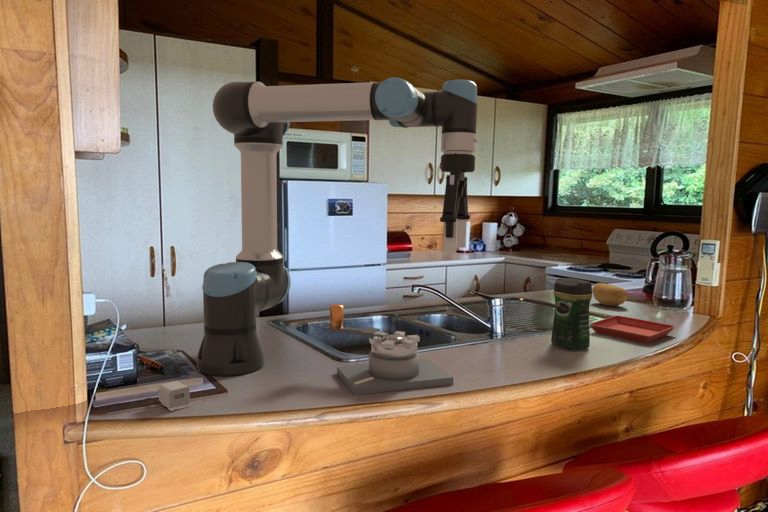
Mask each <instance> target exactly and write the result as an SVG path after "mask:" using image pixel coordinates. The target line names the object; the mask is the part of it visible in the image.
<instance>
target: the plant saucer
mask: <svg viewBox="0 0 768 512" xmlns="http://www.w3.org/2000/svg"><path fill="white" fill-rule="evenodd" d="M589 327H590V329H592V330H593V331H594V333H596V334H599V335H604V336H607V335H608V337H613V338H617V337H618V338H617V339H621V338H622V340H626V339H627V341H632V342H636V343H640V342H641V344H648V343H651V342H653V341H655V340H658V339H661V338H663V337H665V336H667V335H668V334H670V333H671V332H672V331H673V330H674V329H675V327H676V326H675V325H671V324H667V323H666V324H665V323H661V322H655V321H651V320H650V321H649V320H645V319H639V318H633V317H627V316H622V315H614V316H610V317H606V318H604V319H603V318H602V319H600V320H597V321H594V322H589Z"/></svg>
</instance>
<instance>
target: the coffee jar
mask: <svg viewBox="0 0 768 512" xmlns="http://www.w3.org/2000/svg"><path fill="white" fill-rule="evenodd" d="M553 287H554V288H553V296H554V313H553V322H552V330H551V337H550V338H551V340H550V343H551V344H552V345H553V346H556V347H558V348H561V349H564V348H565V350H569V351H584V350H587V349H588V348H590V346H591V345H590V344H591V343H590V342H591V341H590V339H591V338H590V336H591V335H590V325H589V324H590V305H591V304H590V303H591V300H592V298H593V292H592V288H593V285H592V282H590V281H588V280H584V279H583V280H582V279H578V278H573V277H570V278H569V277H562V278H561V277H559V278H557V279H556V280H555V282H554V286H553Z"/></svg>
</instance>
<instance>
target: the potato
mask: <svg viewBox="0 0 768 512" xmlns="http://www.w3.org/2000/svg"><path fill="white" fill-rule="evenodd" d="M592 296H593V297H594V298H593V299H595V300H596V301H597V302H598V303H600V304H601V305H603V306H606V307H607V306H608V307H610V306H612V307H618V306H620V305H623V304H624V303H625V302H626V301H627V300H628V296H629V295H628V291H626V289H624V288H623V287H621V286H617V285H613V284H608V283H605V282H604V283H603V282H598V283H595V284H594V285H592Z"/></svg>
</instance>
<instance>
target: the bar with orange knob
mask: <svg viewBox="0 0 768 512" xmlns="http://www.w3.org/2000/svg"><path fill="white" fill-rule="evenodd" d="M324 333H334V334H335V333H336V334H348V335H353V336H354V335H355V336H357V335H358V336H360V337H362V338H368V341H369V343H370V345H371V351H370V352H371V353H372V355H374V356H376V357H379V358H383V359H391V360H401V359H409V358H412V357H415V356H416V355H417V352H418V342H419V343H420V342H421V340H420V339H421V337H420V336H419V335H418V334H411V335H410V334H409V335H406V331H400V330H396V331H395V332H394V333H393V334H389V333H387V332H383V331H381V328H373V327H366V328H361V327H360V328H358V327H348V326H344V304H340V303H333V304H330V305H329V325H326V326H325V327H324Z"/></svg>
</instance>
